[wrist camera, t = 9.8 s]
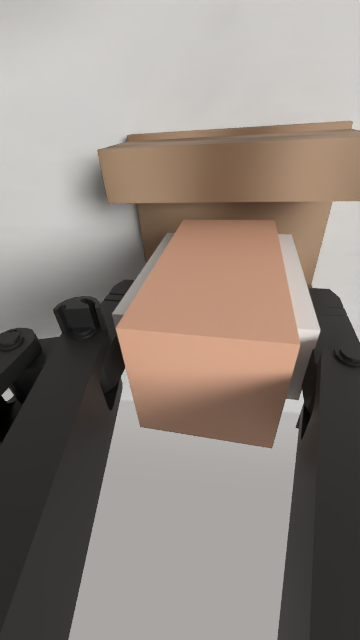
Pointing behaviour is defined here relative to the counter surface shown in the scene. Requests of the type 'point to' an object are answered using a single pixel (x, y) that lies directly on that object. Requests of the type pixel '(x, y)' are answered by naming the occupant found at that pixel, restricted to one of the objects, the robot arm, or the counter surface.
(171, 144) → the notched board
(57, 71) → the counter surface
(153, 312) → the peach rectangular block
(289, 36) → the counter surface
